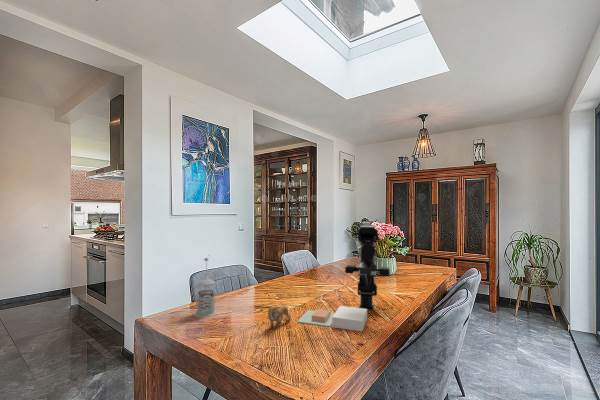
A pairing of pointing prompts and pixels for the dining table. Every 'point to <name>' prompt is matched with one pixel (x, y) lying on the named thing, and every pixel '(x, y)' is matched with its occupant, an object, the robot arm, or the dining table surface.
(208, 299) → the french press
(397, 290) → the dining table surface
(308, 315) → the mat
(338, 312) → the board
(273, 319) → the lion figurine
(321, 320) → the tile
